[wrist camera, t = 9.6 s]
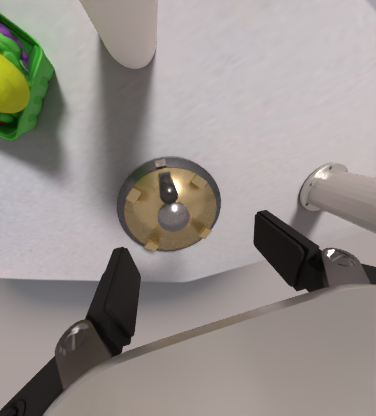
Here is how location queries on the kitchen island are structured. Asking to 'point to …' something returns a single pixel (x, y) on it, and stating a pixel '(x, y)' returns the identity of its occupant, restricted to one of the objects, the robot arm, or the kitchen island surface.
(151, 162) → the cap plate
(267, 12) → the kitchen island surface
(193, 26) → the kitchen island surface
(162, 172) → the gold dial with handle
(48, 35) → the kitchen island surface
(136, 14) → the cylindrical container
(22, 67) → the fruit basket
